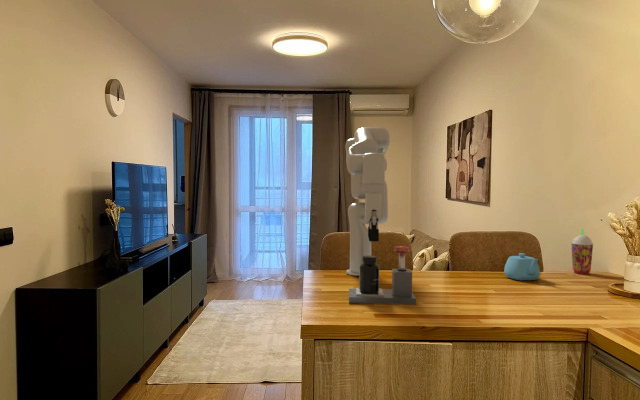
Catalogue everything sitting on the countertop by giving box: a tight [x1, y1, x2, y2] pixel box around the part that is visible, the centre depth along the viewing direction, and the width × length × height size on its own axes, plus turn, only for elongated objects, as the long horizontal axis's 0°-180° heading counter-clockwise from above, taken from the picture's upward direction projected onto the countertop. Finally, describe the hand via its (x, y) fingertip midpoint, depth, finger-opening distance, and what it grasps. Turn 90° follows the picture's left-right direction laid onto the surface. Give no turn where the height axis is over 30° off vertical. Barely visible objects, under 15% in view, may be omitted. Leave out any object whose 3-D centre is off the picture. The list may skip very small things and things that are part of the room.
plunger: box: [394, 245, 410, 271], centre depth 144 cm, size 5×5×12 cm
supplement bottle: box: [358, 255, 380, 293], centre depth 145 cm, size 7×7×12 cm
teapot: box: [503, 252, 541, 281], centre depth 177 cm, size 13×11×18 cm
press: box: [348, 268, 417, 305], centre depth 145 cm, size 12×22×10 cm, turn 86°
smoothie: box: [570, 228, 594, 276], centre depth 189 cm, size 8×8×20 cm
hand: (373, 239), depth 145 cm, fingers open, 9 cm apart
